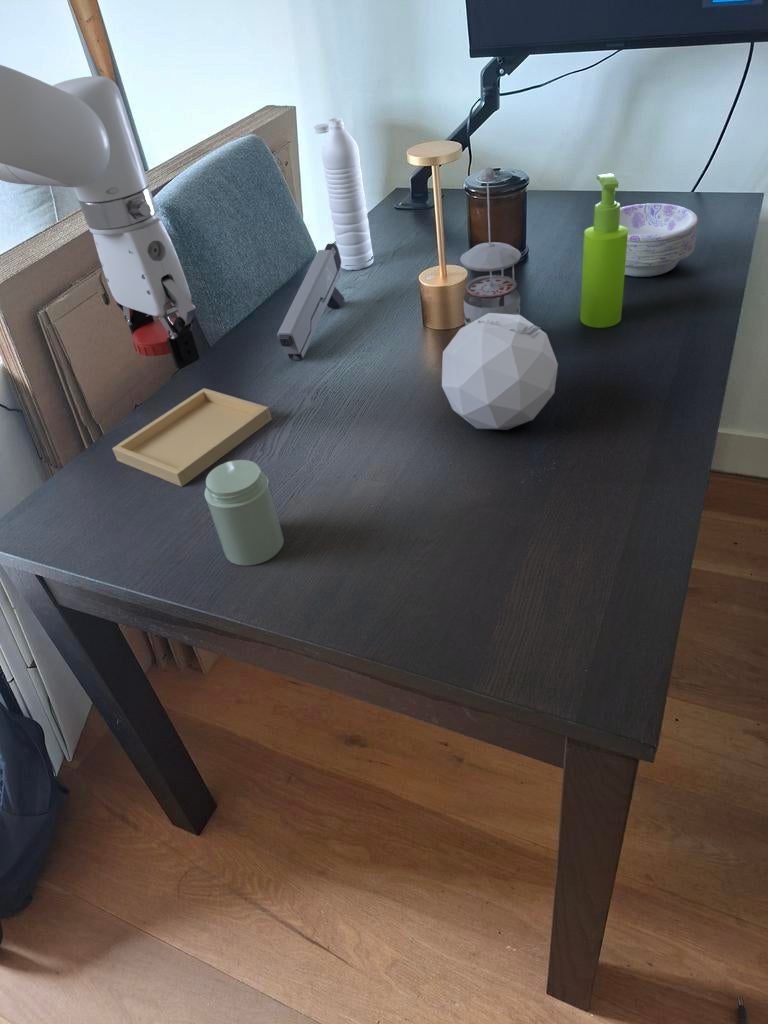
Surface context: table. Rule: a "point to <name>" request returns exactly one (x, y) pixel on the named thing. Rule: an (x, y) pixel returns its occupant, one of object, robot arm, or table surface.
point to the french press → (491, 286)
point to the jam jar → (243, 512)
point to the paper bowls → (657, 237)
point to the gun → (311, 302)
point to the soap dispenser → (604, 261)
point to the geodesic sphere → (499, 371)
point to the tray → (192, 436)
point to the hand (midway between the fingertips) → (168, 355)
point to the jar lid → (152, 339)
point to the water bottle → (346, 195)
